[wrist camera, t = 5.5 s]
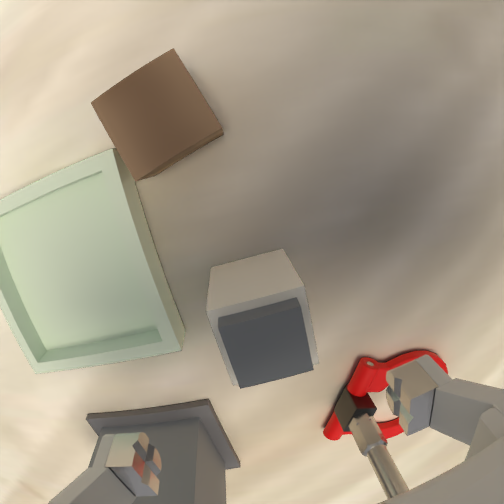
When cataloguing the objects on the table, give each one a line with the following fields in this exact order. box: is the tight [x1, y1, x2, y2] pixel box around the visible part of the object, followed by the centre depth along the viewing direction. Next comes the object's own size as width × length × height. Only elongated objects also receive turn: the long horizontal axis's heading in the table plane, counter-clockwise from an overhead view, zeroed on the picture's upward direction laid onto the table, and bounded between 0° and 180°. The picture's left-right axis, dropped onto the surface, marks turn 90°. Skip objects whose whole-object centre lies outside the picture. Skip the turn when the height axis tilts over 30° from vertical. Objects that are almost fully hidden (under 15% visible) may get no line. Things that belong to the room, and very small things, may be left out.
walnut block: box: [91, 48, 223, 181], centre depth 13 cm, size 4×4×4 cm
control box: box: [86, 399, 240, 504], centre depth 16 cm, size 10×8×12 cm
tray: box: [0, 148, 186, 374], centre depth 16 cm, size 11×11×2 cm
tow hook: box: [323, 351, 448, 499], centre depth 15 cm, size 9×14×10 cm
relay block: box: [206, 248, 319, 389], centre depth 15 cm, size 4×4×6 cm
